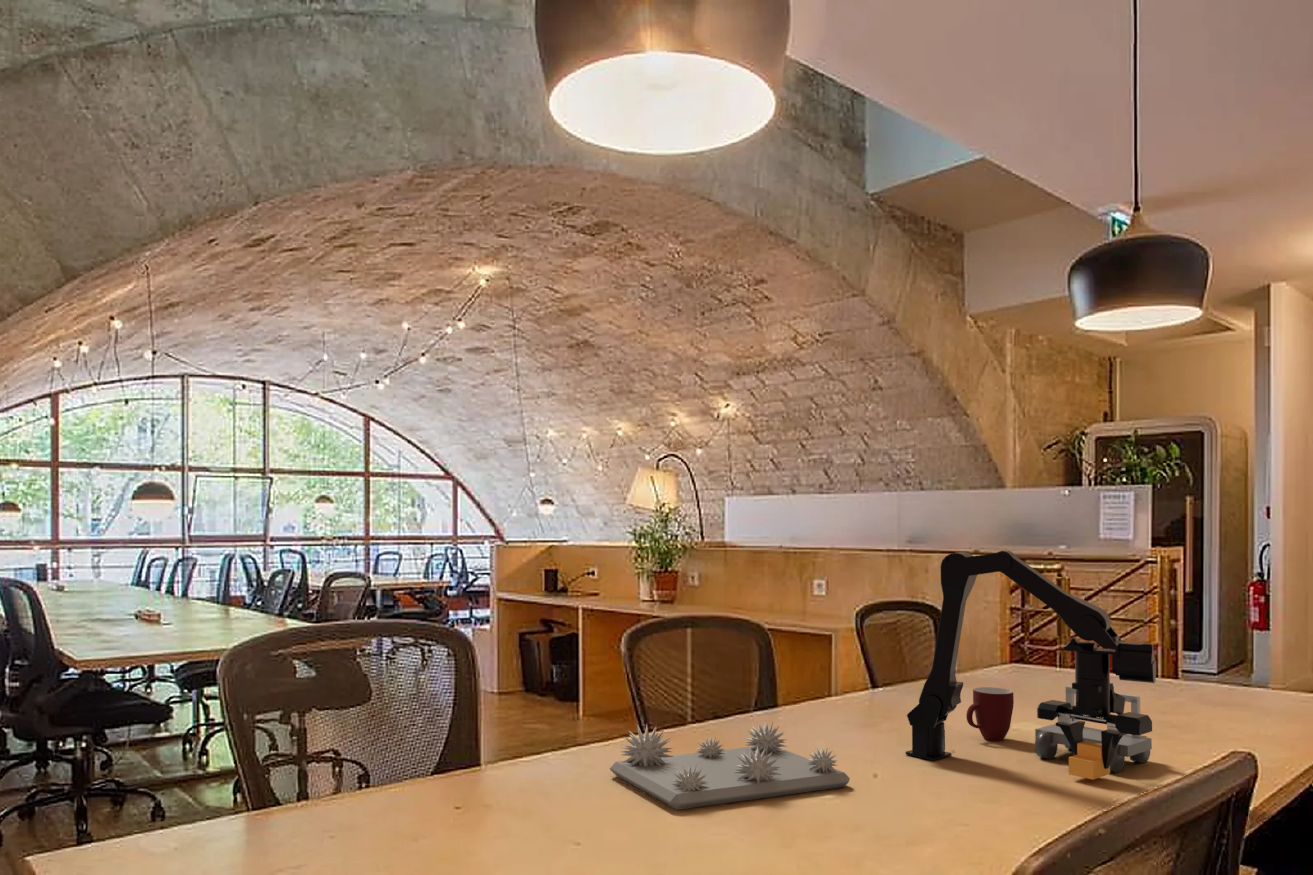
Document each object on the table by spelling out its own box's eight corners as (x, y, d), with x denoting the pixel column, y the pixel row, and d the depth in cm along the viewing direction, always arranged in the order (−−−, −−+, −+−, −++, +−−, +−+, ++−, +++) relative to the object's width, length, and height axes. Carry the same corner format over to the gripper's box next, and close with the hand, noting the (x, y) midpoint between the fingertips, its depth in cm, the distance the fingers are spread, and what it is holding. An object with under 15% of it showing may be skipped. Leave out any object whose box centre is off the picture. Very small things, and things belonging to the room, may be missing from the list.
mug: (985, 746, 207) (985, 696, 208) (956, 738, 214) (956, 689, 215) (1022, 741, 212) (1021, 692, 213) (992, 733, 219) (992, 686, 220)
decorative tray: (673, 817, 159) (674, 752, 160) (605, 777, 182) (605, 720, 183) (854, 791, 175) (854, 731, 176) (770, 757, 198) (770, 705, 199)
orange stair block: (1093, 779, 179) (1092, 750, 179) (1068, 774, 182) (1068, 745, 182) (1110, 773, 183) (1109, 745, 183) (1086, 768, 186) (1085, 740, 187)
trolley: (1120, 776, 185) (1119, 705, 186) (1027, 757, 198) (1026, 691, 199) (1158, 762, 195) (1157, 695, 196) (1068, 745, 209) (1067, 682, 210)
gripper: (1164, 680, 183) (1166, 769, 182) (1064, 666, 197) (1065, 749, 196) (1137, 686, 176) (1138, 779, 175) (1035, 672, 190) (1036, 758, 189)
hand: (1093, 765), depth 184 cm, fingers closed on orange stair block, 4 cm apart
